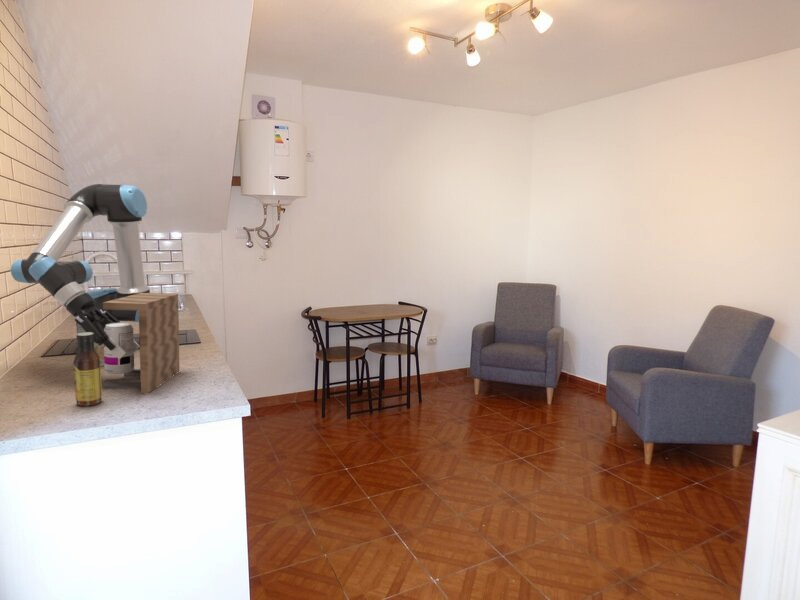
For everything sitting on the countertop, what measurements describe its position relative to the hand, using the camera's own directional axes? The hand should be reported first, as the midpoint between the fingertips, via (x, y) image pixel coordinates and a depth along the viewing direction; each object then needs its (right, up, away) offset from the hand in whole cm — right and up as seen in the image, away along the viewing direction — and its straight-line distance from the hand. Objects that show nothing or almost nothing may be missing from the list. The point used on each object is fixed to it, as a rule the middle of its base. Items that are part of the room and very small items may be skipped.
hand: (130, 352), depth 157 cm
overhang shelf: (+2, -9, +2) cm, 10 cm away
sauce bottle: (-1, -12, -19) cm, 23 cm away
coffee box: (-22, -7, +19) cm, 30 cm away
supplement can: (-4, -6, +1) cm, 7 cm away
